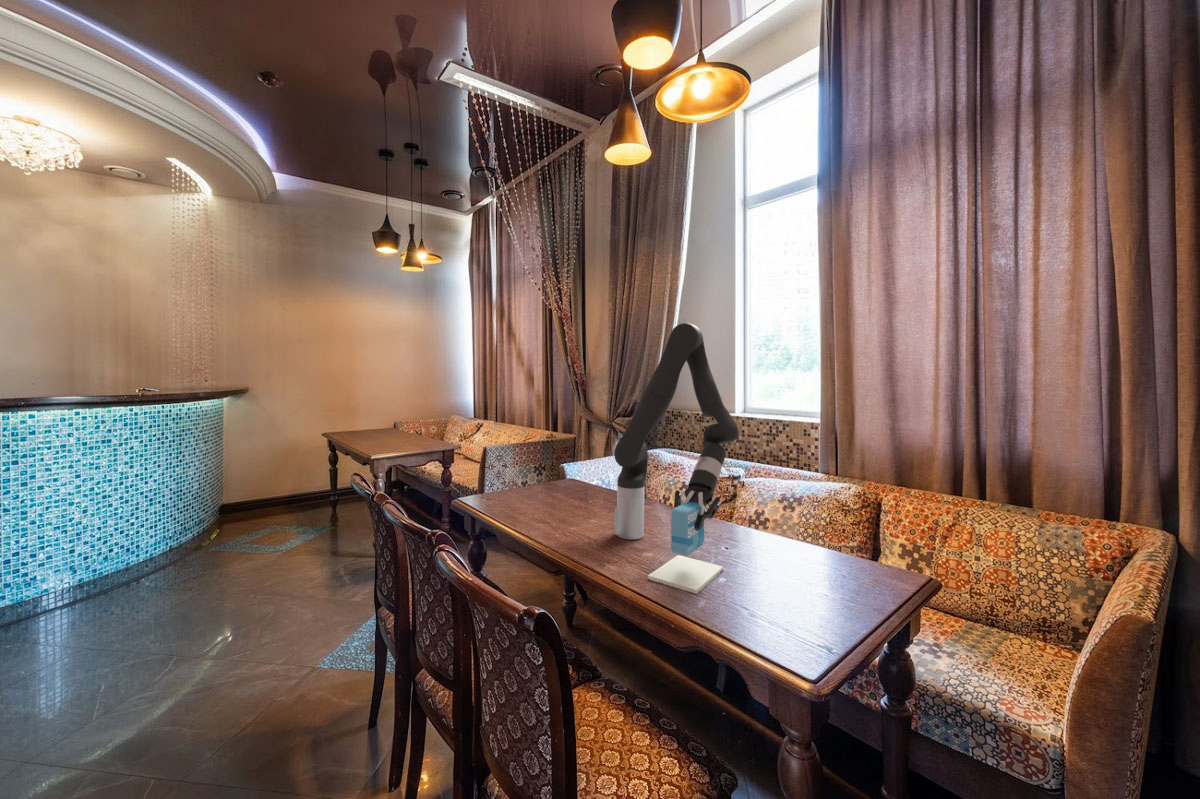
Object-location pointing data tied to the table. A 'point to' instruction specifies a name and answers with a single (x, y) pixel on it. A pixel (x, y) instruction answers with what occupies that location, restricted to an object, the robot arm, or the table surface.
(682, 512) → the data package
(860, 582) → the table surface
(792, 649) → the table surface
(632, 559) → the table surface
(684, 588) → the cream mat
